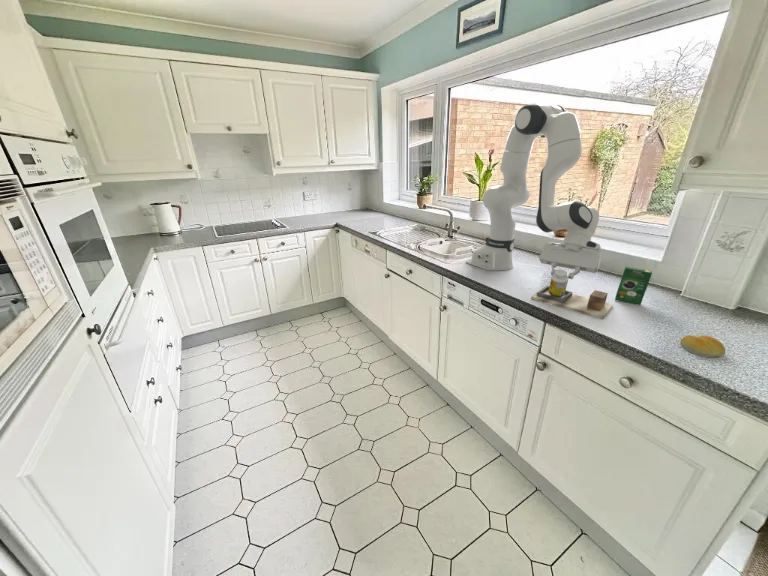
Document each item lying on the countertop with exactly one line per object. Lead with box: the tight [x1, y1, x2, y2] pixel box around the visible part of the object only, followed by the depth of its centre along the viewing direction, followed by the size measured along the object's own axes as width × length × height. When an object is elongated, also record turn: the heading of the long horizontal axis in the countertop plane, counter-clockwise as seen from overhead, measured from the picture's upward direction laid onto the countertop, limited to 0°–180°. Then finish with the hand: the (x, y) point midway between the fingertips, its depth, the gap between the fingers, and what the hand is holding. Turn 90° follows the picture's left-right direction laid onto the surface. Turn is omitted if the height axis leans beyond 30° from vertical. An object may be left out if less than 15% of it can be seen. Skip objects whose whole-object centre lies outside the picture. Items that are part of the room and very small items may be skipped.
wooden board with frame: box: [531, 285, 614, 320], centre depth 118 cm, size 24×13×6 cm, turn 45°
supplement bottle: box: [549, 269, 569, 297], centre depth 119 cm, size 6×6×10 cm
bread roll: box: [680, 335, 726, 358], centre depth 89 cm, size 8×9×4 cm
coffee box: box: [614, 266, 653, 306], centre depth 116 cm, size 8×3×13 cm, turn 53°
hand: (561, 276), depth 119 cm, fingers open, 5 cm apart
